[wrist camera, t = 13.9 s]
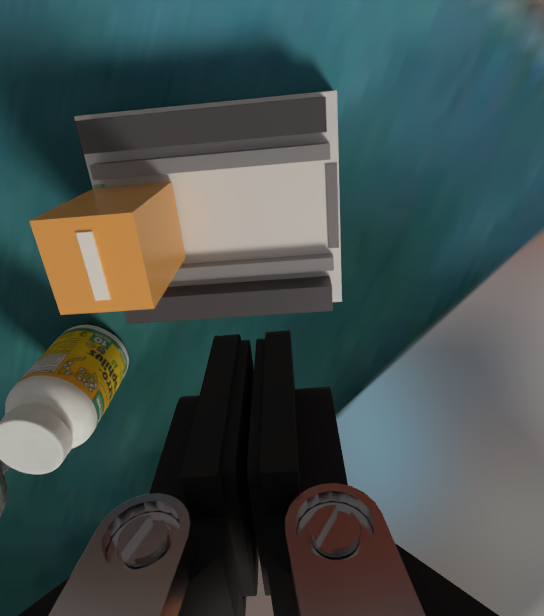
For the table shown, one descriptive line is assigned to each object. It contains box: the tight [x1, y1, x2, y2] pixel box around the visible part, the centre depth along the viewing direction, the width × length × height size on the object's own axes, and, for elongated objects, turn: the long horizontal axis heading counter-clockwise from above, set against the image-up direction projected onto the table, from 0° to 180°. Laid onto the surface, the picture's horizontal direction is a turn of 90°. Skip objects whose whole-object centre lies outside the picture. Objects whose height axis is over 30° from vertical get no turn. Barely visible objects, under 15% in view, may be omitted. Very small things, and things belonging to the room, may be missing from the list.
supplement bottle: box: [0, 325, 129, 474], centre depth 29 cm, size 5×5×10 cm
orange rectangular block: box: [30, 181, 186, 315], centre depth 23 cm, size 4×4×7 cm
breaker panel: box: [74, 91, 342, 324], centre depth 26 cm, size 12×14×4 cm
